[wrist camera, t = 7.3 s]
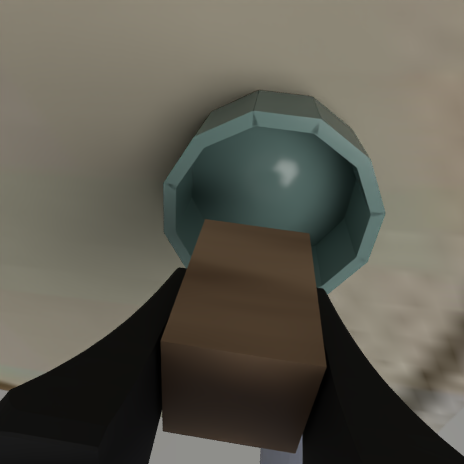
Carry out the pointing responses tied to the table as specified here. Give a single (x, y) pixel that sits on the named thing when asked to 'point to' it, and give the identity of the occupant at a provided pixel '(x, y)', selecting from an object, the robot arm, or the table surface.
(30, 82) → the table surface
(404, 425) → the robot arm
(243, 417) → the walnut block
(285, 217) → the teal bowl
